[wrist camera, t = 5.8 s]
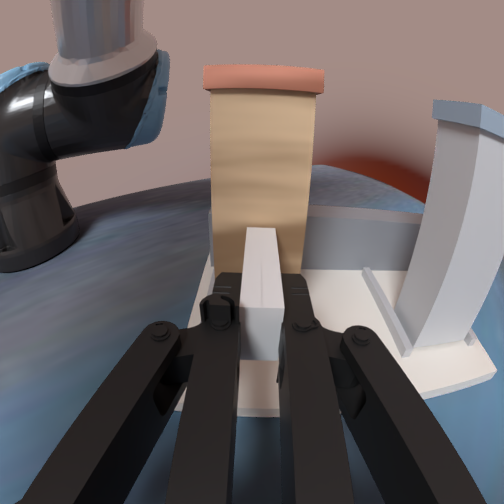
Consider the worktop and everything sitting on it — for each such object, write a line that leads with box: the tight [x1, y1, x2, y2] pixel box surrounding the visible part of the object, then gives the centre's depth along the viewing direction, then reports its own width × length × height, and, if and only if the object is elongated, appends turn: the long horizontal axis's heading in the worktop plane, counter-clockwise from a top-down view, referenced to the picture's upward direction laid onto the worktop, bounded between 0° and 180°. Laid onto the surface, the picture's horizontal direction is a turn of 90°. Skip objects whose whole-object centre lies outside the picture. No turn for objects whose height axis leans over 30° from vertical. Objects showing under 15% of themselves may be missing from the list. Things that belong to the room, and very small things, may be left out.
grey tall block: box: [394, 100, 504, 348], centre depth 14 cm, size 5×6×15 cm
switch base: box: [174, 205, 497, 417], centre depth 20 cm, size 18×22×6 cm
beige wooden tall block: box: [203, 64, 324, 278], centre depth 17 cm, size 5×6×15 cm
